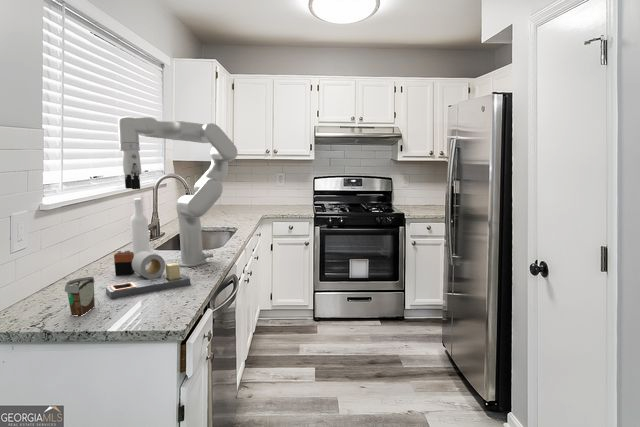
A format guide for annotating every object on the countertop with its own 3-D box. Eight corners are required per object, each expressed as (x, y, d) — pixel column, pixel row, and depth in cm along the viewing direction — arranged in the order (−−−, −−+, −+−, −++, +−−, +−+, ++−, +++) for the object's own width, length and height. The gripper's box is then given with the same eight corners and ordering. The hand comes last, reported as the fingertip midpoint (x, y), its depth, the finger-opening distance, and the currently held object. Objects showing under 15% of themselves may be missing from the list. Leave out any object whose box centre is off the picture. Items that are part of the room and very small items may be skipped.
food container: (77, 306, 152) (74, 277, 151) (96, 305, 152) (94, 276, 151) (59, 319, 140) (56, 287, 138) (80, 318, 140) (77, 286, 139)
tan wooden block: (177, 282, 178) (176, 262, 177) (180, 285, 175) (179, 264, 174) (166, 284, 176) (165, 264, 175) (170, 287, 173) (168, 266, 172)
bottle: (150, 258, 225) (145, 197, 221) (151, 261, 218) (146, 198, 214) (132, 260, 222) (127, 198, 218) (133, 263, 215) (128, 199, 211)
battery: (131, 275, 193) (129, 251, 192) (115, 275, 193) (113, 252, 192) (135, 272, 197) (133, 249, 196) (119, 273, 197) (117, 250, 196)
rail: (182, 280, 182) (182, 273, 182) (190, 284, 175) (190, 277, 174) (106, 293, 166) (105, 285, 166) (111, 299, 159) (110, 291, 159)
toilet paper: (166, 276, 189) (164, 252, 188) (141, 281, 183) (139, 256, 182) (156, 272, 197) (154, 249, 196) (132, 276, 190) (130, 253, 189)
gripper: (145, 146, 186) (148, 188, 188) (133, 148, 200) (136, 187, 202) (125, 146, 181) (129, 190, 183) (115, 148, 195) (118, 188, 197)
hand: (132, 188), depth 192 cm, fingers open, 9 cm apart
